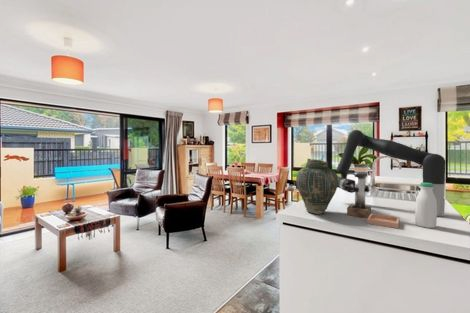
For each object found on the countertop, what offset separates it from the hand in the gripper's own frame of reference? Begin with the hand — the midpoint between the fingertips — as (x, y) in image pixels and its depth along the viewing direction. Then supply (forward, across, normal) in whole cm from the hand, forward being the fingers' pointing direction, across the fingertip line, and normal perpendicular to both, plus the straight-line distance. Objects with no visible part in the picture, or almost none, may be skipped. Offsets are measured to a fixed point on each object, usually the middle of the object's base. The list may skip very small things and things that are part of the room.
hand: (362, 190), depth 125 cm
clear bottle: (-3, 0, +10) cm, 11 cm away
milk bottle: (+15, +21, +14) cm, 30 cm away
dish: (+11, +4, +14) cm, 19 cm away
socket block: (-3, 0, +14) cm, 14 cm away
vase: (-6, -22, +14) cm, 27 cm away
